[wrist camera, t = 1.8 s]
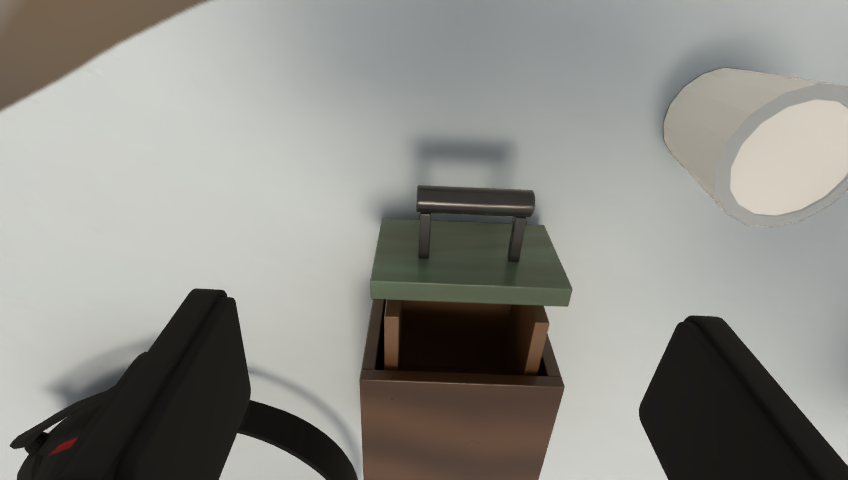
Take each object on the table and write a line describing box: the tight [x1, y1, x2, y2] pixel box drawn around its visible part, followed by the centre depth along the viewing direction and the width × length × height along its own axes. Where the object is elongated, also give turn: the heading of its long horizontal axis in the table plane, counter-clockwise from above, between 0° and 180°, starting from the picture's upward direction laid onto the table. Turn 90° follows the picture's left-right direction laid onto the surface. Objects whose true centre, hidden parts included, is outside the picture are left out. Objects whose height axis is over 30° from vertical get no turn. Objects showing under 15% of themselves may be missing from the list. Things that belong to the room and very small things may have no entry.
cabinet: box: [360, 299, 565, 480], centre depth 33 cm, size 14×12×9 cm
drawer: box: [370, 185, 572, 376], centre depth 29 cm, size 17×10×7 cm, turn 177°
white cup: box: [663, 68, 848, 227], centre depth 24 cm, size 7×7×7 cm
